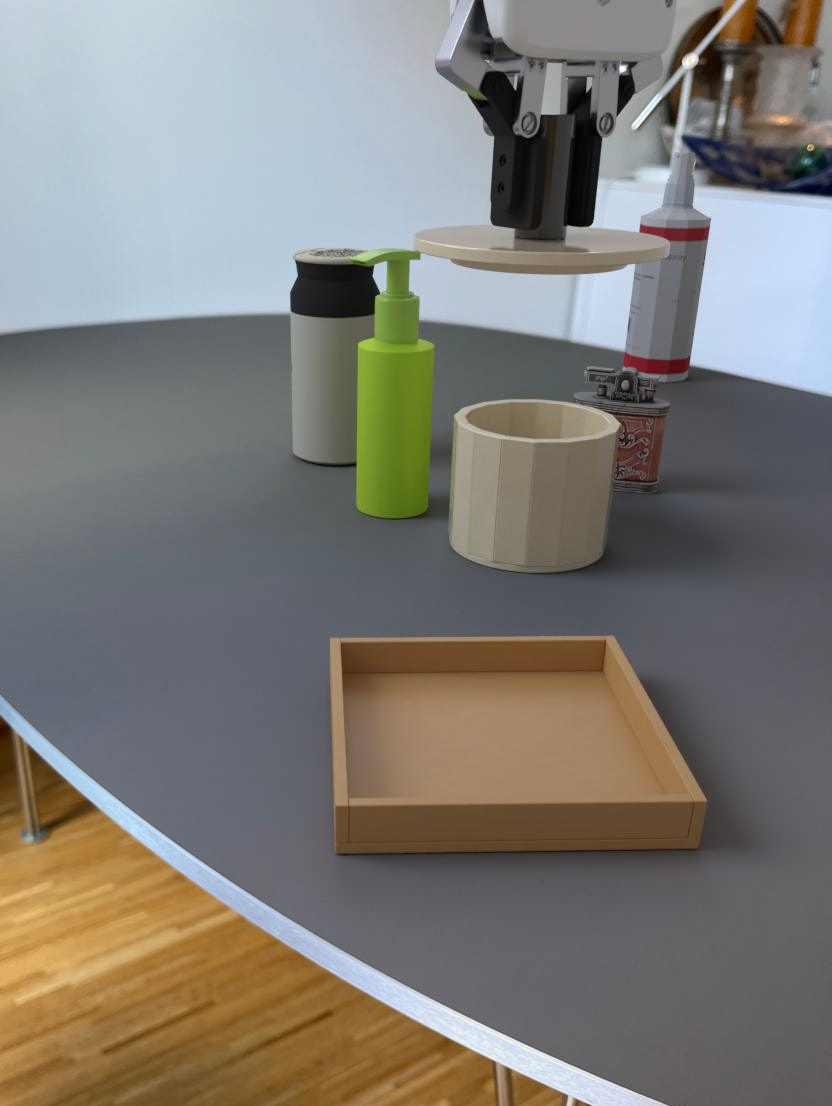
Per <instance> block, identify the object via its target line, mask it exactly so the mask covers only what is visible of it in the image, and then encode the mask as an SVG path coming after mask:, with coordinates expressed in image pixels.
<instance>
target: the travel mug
mask: <svg viewBox="0 0 832 1106" xmlns="http://www.w3.org/2000/svg"><path fill="white" fill-rule="evenodd" d="M366 251H369V249H362V248H354V247H353V248H352V247H351V248H350V247H316V248H305V249H300V250H296V251H293V252H292V254H291V258H292V259H293V260H294V262H295V267H296V275H297V276H296V279H295V281H294V282H293V285H292V287H291V289H290V291H289V308H290V309H289V310H290V311H289V312H290V313H289V315H290V365H291V366H290V367H291V368H290V369H291V371H290V372H291V373H290V374H291V421H292V423H291V424H292V425H291V427H292V428H291V429H292V430H291V431H292V453H293V454H294V455H295V456H296V457H298V458H300V459H301V460H304V461H306V462H308V463H312V464H316V465H327V466H348V465H355V464H357V389H358V343H359V342H361V341H364V340H367V339H371V338H374V331H375V297H376V296H377V295H380V294H381V291H380V288H379V286H378V284H377V282H376V280H375V277H374V271H375V265H373V266H363V265H357V264H353V263H352V262H351V260H350V258H352V257H354V256H356V255H358V254H360V253H363V252H366Z"/></svg>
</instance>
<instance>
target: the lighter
mask: <svg viewBox="0 0 832 1106" xmlns="http://www.w3.org/2000/svg"><path fill="white" fill-rule="evenodd" d="M658 379H659V376H657V375H649V374H639V372H638V370H637V369H636V368H633V367H628V368H626V369H624V370H623V369H622V371H617V370H615V368H611V367H602V366H601V367H600V366H591V365H590V366H587V367H586V368H585V369H584V373H583V383H585V384H592V385H598V386H597V390H596V391H578V392H574V393H573V399H572V403H574V404H579V405H584V406H589V407H593V408H596V409H599V410H601V411H604V412H606V413H609V414H611V415H613V416H614V417H615V418H616V419H617V420H618V421H619V422H620V424H621V428H620V436H619V445H618V453H617V461H616V469H615V477H614V485H613V491H617V492H626V493H636V494H637V493H638V494H639V493H640V494H653V493H656V492H657V491H659V485H660V484H659V483H660V478H659V476H658V475H659V468H660V462H661V457H662V455H661V454H662V449H663V441H664V433H665V426H666V421H667V420H666V419H667V415H668V414H669V413H670V408H671V407H670V406H671V402H670V401H668V400H665V399H660V398H655V395H656V394H657V389H658V386H659V382H658ZM608 386H611V387H614V388H613V390H612V392H608ZM642 390H644V392H643V391H642ZM643 393H644V396H643Z"/></svg>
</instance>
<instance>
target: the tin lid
mask: <svg viewBox="0 0 832 1106" xmlns="http://www.w3.org/2000/svg"><path fill="white" fill-rule="evenodd" d="M577 118H578V116H577V115H576V114H560V113H541V116H540V124H539V129H538V131H537V133H536V138H547V146H548V150H547V161H546V173H545V185H544V197H543V209H542V221H541V224H540V226H539V227H538V228H537V229H536V230H519V229H513V228H506V227H499V226H494V225H493V224H470V225H454V226H441V227H435V228H428V229H424V230H420V231H417V232H415V233H414V234H413V235H412V248H413V250H414V251H418V252H420V253H421V254H424V255H427V256H431V257H435V258H440V259H447V260H450V263H452V264H454V265H457V266H460V267H462V268H463V267H464V268H469V269H473V270H479V271H486V272H496V273H507V274H519V275H520V274H522V275H523V274H524V275H549V276H551V275H552V276H553V275H554V276H557V275H558V276H559V275H561V276H562V275H563V276H565V275H566V276H570V275H572V276H573V275H593V274H603V273H611V272H616V271H620V270H624V269H626V268H627V266H628V265H635V264H640V263H647V262H652V261H657V260H661V259H664V258H666V257H667V256H668V254H669V250H670V242H669V240H667V239H665V238H662V237H659V236H655V235H651V234H645V233H639V231H631V230H624V229H613V228H603V227H592V226H590V227H574V226H567V224H568V214H569V203H570V192H571V182H572V171H573V160H574V150H575V139H576V128H577Z"/></svg>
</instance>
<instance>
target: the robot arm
mask: <svg viewBox="0 0 832 1106" xmlns="http://www.w3.org/2000/svg"><path fill="white" fill-rule="evenodd" d="M677 2H678V0H449V24H448V26H447V28H446V31H445V34H444V36H443V38H442V41H441V43H440V45H439V48H438V51H437V54H436V55H435V59H434V68H435V70H436V73H438V75H440V76H441V77H443V78H444V79H445V80H446V81H448V82H449V83H451V84H452V85H453V86H454V87H456V88H458V89H459V90H460V91H461V92H465V93H466V94H467V97H468V98H469V100H470V102H471V103H472V104H473V106H474V107H475V109H476V111H477V112H478V113H479V115H480V117H481V118H482V128H483V131H484V133H485V134H486V135H487V136H489V137H493V148H492V164H491V176H490V177H491V179H490V195H489V197H490V198H489V200H490V213H489V215H490V216H489V218H490V219H489V220H490V223H491V225H494V226H499V227H506V228H513V229H519V230H536V229H537V228H538V227H539V226H540V224H541V221H542V209H543V197H544V185H545V173H546V161H547V150H548V146H547V138H536V133H537V131H538V129H539V124H540V116H541V114H542V107H543V99H544V92H545V91H544V90H545V84H546V75H547V67H548V64H561V76H560V96H559V97H560V100H559V114H576V115H577V116H578V118H577V128H576V139H575V150H574V160H573V171H572V182H571V192H570V203H569V214H568V224H567V226H574V227H592V225H593V224H594V222H595V214H596V203H597V196H598V183H599V175H600V168H601V167H600V165H601V158H602V157H601V156H602V146H603V138H605V139H606V138H608V137H610V136H612V135H613V133H614V131H615V129H616V126H617V118H618V116H619V115H620V114H621V112H623V110H624V109H625V108H626V106H627V105H628V103H629V102H630V101H631V100H632V98H633V96H634V95H637V94H638V93H640V92H642V91H643V90H645V89H646V88H647V87H649V86H651V85H652V84H654V83H655V82H657V81H658V80H659V79H660V78H661V76H662V74H663V71H664V64H663V58H662V56H663V54H665V52H666V51H667V50H668V48H669V46H670V44H671V41H672V38H673V33H674V28H675V21H676V11H677ZM515 77H516V85H515ZM588 78H591V86H590V88H589V89H587V88H588ZM515 86H516V87H515Z"/></svg>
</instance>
